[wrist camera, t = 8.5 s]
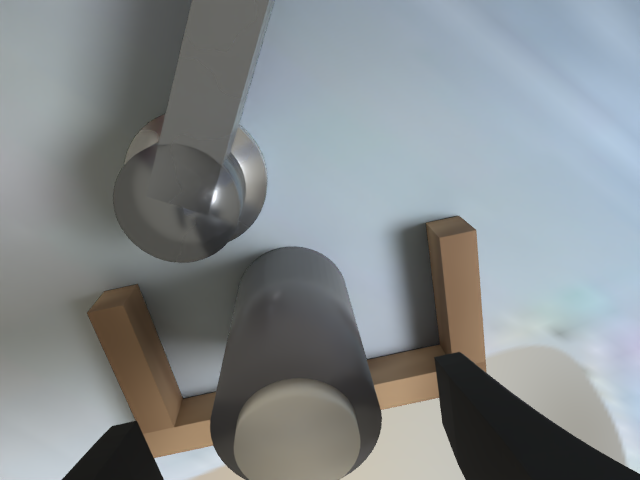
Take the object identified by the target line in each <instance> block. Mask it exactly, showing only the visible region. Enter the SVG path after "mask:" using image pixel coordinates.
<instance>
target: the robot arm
mask: <svg viewBox="0 0 640 480" xmlns="http://www.w3.org/2000/svg"><path fill="white" fill-rule="evenodd" d="M434 359H435V367H436V375H437V383H438V391H439V398H440V407H441V415H442V423H443V426H444V429H445V431H446V434H447V436H448V439H449V442H450V445H451V447H452V449H453V452H454V455H455V457H456V460H457V463H458V465H459V467H460V469H461V471H462V473H463V475H464V477H465V479H466V480H640V474H639V473H637V472H635V471H633V470H631V469H629V468H628V467H626V466H624V465H622V464H620V463H619V462H617V461H615V460H613V459H612V458H610V457H608V456H606V455H605V454H602V453H601V452H599V451H598V450H596V449H594V448H593V447H591V446H589V445H588V444H586V443H584V442H583V441H581V440H580V439H578V438H576V437H575V436H573V435H572V434H570V433H569V432H567V431H566V430H564V429H562V428H561V427H560V426H558V425H556V424H555V423H553V422H552V421H551V420H549V419H548V418H546V417H545V416H543V415H542V414H540V413H539V412H537V411H536V410H535V409H533V408H532V407H531V406H529V405H528V404H526V403H525V402H524V401H522V400H521V399H520V398H518V397H517V396H515V395H514V394H513V393H511V392H510V391H509V390H507V389H506V388H505V387H504V386H502V385H501V384H500V383H499V382H497V381H496V380H495V379H493V378H492V377H491V376H490V375H488V374H487V373H486V372H485V371H483V370H482V369H481V368H480V367H478V366H477V365H476V364H475V363H474V362H472V361H471V360H470V359H469V358H468V357H466V356H465V355H464V354H462V353H461V352H456V353H451V354H446V355H442V356H437V357H434ZM62 480H164V479H163V477H162V475H161V473H160V471H159V468H158V466H157V464H156V462H155V459H154V457H153V455H152V453H151V451H150V448H149V446H148V444H147V442H146V440H145V437H144V435H143V433H142V431H141V429H140V426H139V424H138V422H137V421H134V422H129V423H125V424H120V425H115V426H112V427H111V428H110V429H109V430H108V431H107V432H106V433H105V434H104V435H103V436H102V437H101V438H100V439H99V440H98V441H97V442H96V443H95V444H94V445H93V446H92V447H91V448H90V450H89V451H88V452H87V453H86V454H85V455H84V456H83V457H82V458H81V459H80V460H79V462H78V463H77V464H76V465H75V466H74V467H73V468H72V469H71V470H70V471H69V473H68V474H67V475H66V476H65V477H64V478H63V479H62Z"/></svg>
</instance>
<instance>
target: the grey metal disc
mask: <svg viewBox="0 0 640 480" xmlns="http://www.w3.org/2000/svg"><path fill="white" fill-rule="evenodd" d="M164 118H165V114H164V115H162V116H159V117H157V118H155V119H154V120H152V121H151V122H149V123H148V124H147V125H145V126H144V127H143V128H142V129H141V130H140V131H139V132H138V134H137V135H136V136H135V137H134V139H133V141H132V142H131V144H130V146H129V148H128V151H127V154H126V157H125V161H124V165H125V164H126V163H127V162H128V160H129V159H131V158H132V157H133V156H134V155H135V154H137V153H139V152H140V151H142V150H144V149H146V148H147V147H149V146H151V145H153V144H155V143H156V142H158V141H159V140H160V135H161V131H162V127H163V122H164ZM231 153H232V154H233V155H234V157H235V158H236V159H237V161H238V162H239V164H240V166H241V168H242V170H243V174H244V177H245V182H246V197H245V201H244V205H243V208H242V212H241V215H240V218H239V221H238V224H237V227H236V230H235V232H234V234H233V235H232V237H231V239H230V240H229V241H232V240H233V239H235V238H237V237H239V236H240V235H241V234H243V233H244V232H245V231H246V230H247V229H248V228H249V227H250V226H251V225H252V224H253V223H254V221H255V220H256V219H257V217H258V215H259V213H260V212H261V209H262V207H263V204H264V201H265V196H266V191H267V170H266V164H265V161H264V158H263V155H262V153H261V151H260V149H259V147H258V145H257V144H256V142H255V140H254V139H253V138H252V137H251V135H250V134H249V133H248V132H247V131H246V130H245V129H244V128H243V127H242V126H241V125H239V126H238V130H237V133H236V137H235V140H234V144H233V147H232V150H231ZM229 241H228V242H229Z"/></svg>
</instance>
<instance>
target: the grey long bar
mask: <svg viewBox="0 0 640 480" xmlns="http://www.w3.org/2000/svg"><path fill="white" fill-rule="evenodd" d="M274 1H275V0H192V2H191V6H190V11H189V15H188V19H187V24H186V28H185V32H184V37H183V41H182V45H181V49H180V54H179V58H178V62H177V67H176V71H175V75H174V79H173V84H172V88H171V92H170V97H169V101H168V105H167V110H166V114H165V118H164V122H163V127H162V131H161V135H160V140H159V141H158V142H156V143H155V144H153V145H151V146H149V147H147V148H146V149H144V150H142V151H140V152H139V153H137V154H135V155H134V156H133V157H132V158H131V159H129V160H128V162H127V163H126V164H125V165H124V166H123V168H122V169H121V171H120V172H119V175H118V177H117V179H116V182H115V186H114V192H113V204H114V210H115V214H116V217H117V220H118V222H119V224H120V226H121V228H122V229H123V231H124V233H125V234H126V235H127V236H128V238H129V239H130V240H131V241H132V242H133V243H134V244H135V245H136V246H138V247H139V248H140V249H141V250H143V251H145V252H146V253H148V254H150V255H152V256H154V257H156V258H159V259H162V260H166V261H170V262H178V263H185V262H194V261H198V260H202V259H205V258H207V257H210V256H211V255H213V254H215V253H216V252H218V251H219V250H220V249H222V248H223V247H224V246H225V245H226V244H227V243H228V241H229V240H230V239H231V237H232V235H233V234H234V232H235V230H236V227H237V224H238V221H239V218H240V215H241V212H242V208H243V205H244V201H245V197H246V182H245V177H244V174H243V170H242V168H241V166H240V164H239V162H238V161H237V159H236V158H235V157H234V155H233V154H232V153H231V150H232V147H233V144H234V140H235V137H236V133H237V130H238V126H239V123H240V119H241V116H242V112H243V109H244V105H245V102H246V98H247V95H248V91H249V88H250V85H251V81H252V78H253V74H254V71H255V67H256V64H257V60H258V57H259V53H260V50H261V46H262V43H263V39H264V36H265V33H266V29H267V26H268V22H269V19H270V15H271V12H272V8H273V5H274Z"/></svg>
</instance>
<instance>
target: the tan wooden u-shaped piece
mask: <svg viewBox="0 0 640 480" xmlns="http://www.w3.org/2000/svg"><path fill="white" fill-rule="evenodd" d="M426 229H427V238H428V247H429V255H430V264H431V272H432V281H433V290H434V298H435V307H436V315H437V324H438V333H439V341H440V345H435V346H430V347H425V348H421V349H416V350H411V351H407V352H402V353H397V354H392V355H388V356H383V357H378V358H374V359H369V360H367V363H368V366H369V370H370V373H371V377H372V380H373V384H374V387H375V391H376V394H377V398H378V401H379V405H380V409H381V410H382V409H388V408H392V407H397V406H402V405H407V404H411V403H416V402H421V401H426V400H430V399H435V398H439V391H438V383H437V375H436V367H435V359H434V357H437V356H442V355H446V354H451V353H456V352H461V353H462V354H464V355H465V356H466V357H468V358H469V359H470V360H471V361H472V362H474V363H475V364H476V365H477V366H478V367H480V368H481V369H482V370H483V371H485V372H486V360H485V346H484V332H483V318H482V304H481V290H480V276H479V262H478V248H477V234H476V230H475V229H474V228H473V227H472V226H471V225H469V224H468V223H467V222H466V221H465V220H463V219H462V218H461V217H460V216H456V217H451V218H446V219H442V220H437V221H432V222H428V223H426ZM87 314H88V317H89V319H90V321H91V323H92V325H93V328H94V330H95V332H96V334H97V336H98V339H99V341H100V343H101V345H102V347H103V350H104V352H105V354H106V356H107V358H108V361H109V363H110V365H111V367H112V369H113V372H114V374H115V376H116V378H117V380H118V383H119V385H120V387H121V389H122V391H123V393H124V396H125V398H126V400H127V402H128V404H129V407H130V409H131V411H132V413H133V415H134V418H135V420H136V421H137V422H138V424H139V426H140V429H141V431H142V433H143V435H144V437H145V440H146V442H147V444H148V446H149V448H150V451H151V453H152V455H153V457H154V458H156V457H161V456H166V455H171V454H175V453H180V452H185V451H189V450H194V449H199V448H204V447H208V446H213V442H212V439H211V433H210V419H211V414H212V409H213V405H214V400H215V395H216V392H213V393H209V394H204V395H199V396H194V397H190V398H185V399H183V398H182V395H181V393H180V390H179V387H178V385H177V382H176V380H175V377H174V375H173V372H172V370H171V367H170V365H169V362H168V360H167V357H166V355H165V352H164V349H163V347H162V344H161V342H160V339H159V337H158V334H157V332H156V329H155V327H154V324H153V322H152V319H151V316H150V314H149V311H148V309H147V306H146V304H145V301H144V299H143V296H142V294H141V291H140V289H139V286H138V284H136V285H132V286H127V287H122V288H117V289H113V290H108V291H104V293H103V294H102V295H101V296H100V297H99V299H98V300H97V301H96V302H95V304H94V305H93V306H92V307H91V308H90V310H89V311H88V312H87Z"/></svg>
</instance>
